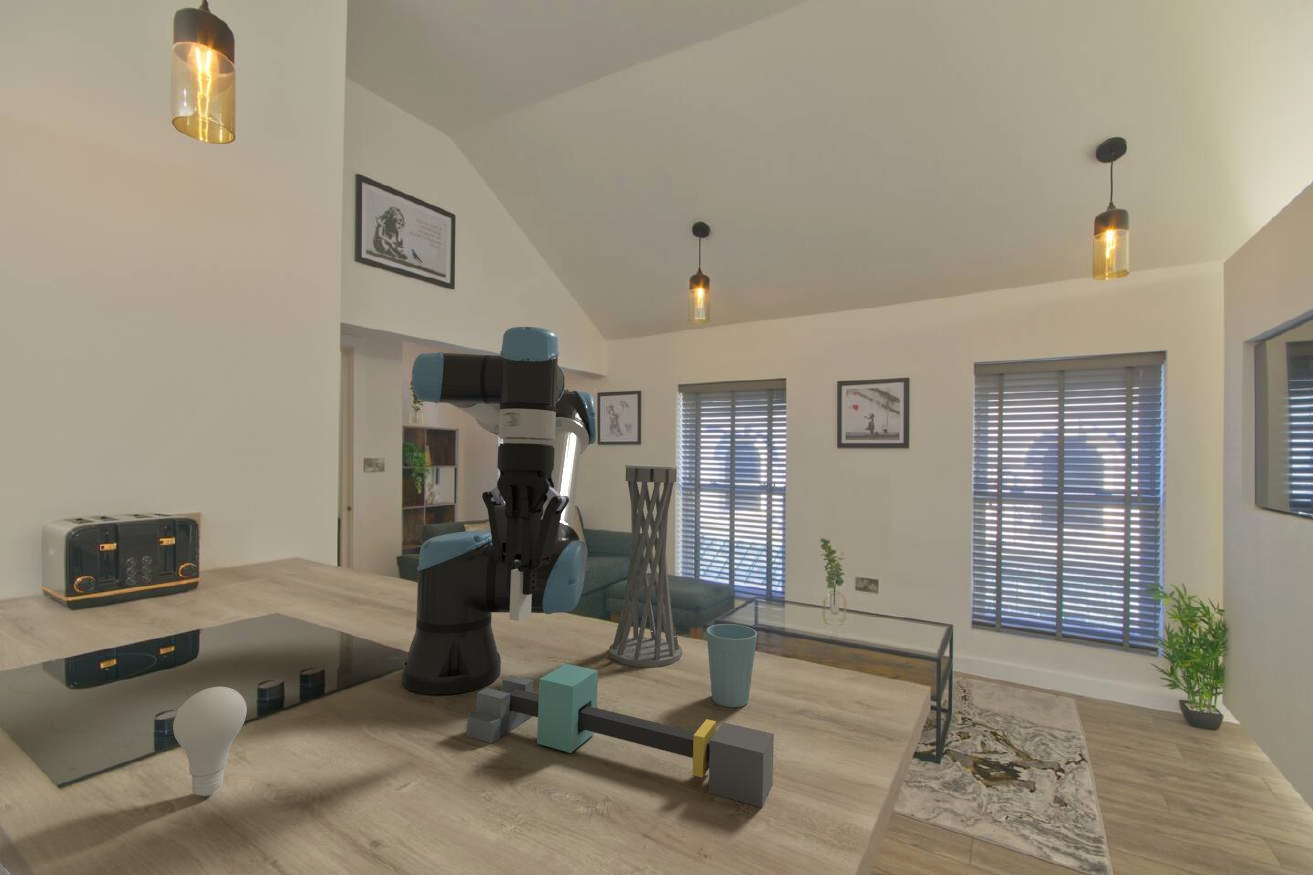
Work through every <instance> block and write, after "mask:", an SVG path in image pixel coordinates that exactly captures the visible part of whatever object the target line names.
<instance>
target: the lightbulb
mask: <svg viewBox="0 0 1313 875" xmlns="http://www.w3.org/2000/svg"><path fill="white" fill-rule="evenodd" d="M247 707H248V706H247V703H246V700H245V698H244V697H243V695H242V694H241V693H239V692H238V691H237V690H236V689H233V688H231V687H225V686H212V687H208V688H205V689H202V690H200V691H198V692H196V693H194V694H193V695H191V696H190V697H189V698H187V699H186V700H185V702H184V703H183V704H181V706H180V707H179V709H178V710H177V713H176V714H175V717H174V720H173V723H172V724H173V725H172V729H173V730H172V731H173V734H174V737H175V739H176V741H177V743H178V744H179V746H180V747H181V748H182V749H183V751H184V753H185V755H186V756H187V759H188V767H189V768H188V770H189V774H190V775H191V791H192V793H193V794H194V795H196V796H201V797H204V798H205V797H208V796H211V795H212V794H214V792H216V791H218V790H219V789H220V788H221V787H222V786H223V783H224V782H223V781H224V775H225V774H224V773H225V772H224V771H225V767H226V766H227V764H228V759H229V754H230V749H231V747H232V745H233V743H234V740H235V738H236V737H237V736H238V734H239V732H240V731H241V728H242V727H243V725H244V723H245V720H246V716H247V712H248V711H247V709H248V708H247Z"/></svg>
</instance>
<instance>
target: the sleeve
mask: <svg viewBox="0 0 1313 875" xmlns="http://www.w3.org/2000/svg"><path fill="white" fill-rule="evenodd" d="M598 673H599V670H597V669H593V668H587V667H583V666H579V665H575V664H574V665H573V664H569V663H565V664H563V665H561V666H560V667H557V668H556V669H555V670H552V671H551V672H549V673H548V674H545V675H544V676H542V677H539V679H538V680H539V681H538V682H539V683H538V684H539V686H538V694H539V704H538V717H537V737H536V738H537V739H536V741H537V742H536V744H537V745H541V746H546V747H549V748H551V749H556V750H559V751H563V752H565V753H569V754H571V753H573V752H574V751H575V750H576V749H577V748H579V747H580V746H581V745H583V744H584V743H585V742H586V741H587V740H588V739H590V738H591V737H592V736H593V735H595V732H591V731H587V730H584V729H580V728H578V709H580V708H581V707H582V706H584V705H586V706H590V707H594V708H598V683H599V681H598V677H599V676H598V675H599V674H598Z"/></svg>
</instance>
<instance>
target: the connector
mask: <svg viewBox="0 0 1313 875" xmlns="http://www.w3.org/2000/svg"><path fill="white" fill-rule="evenodd" d="M774 735H775V734H774V733H772V732H767V731H764V730H760V729H754V728H750V727H746V726H741V725H737V724H733V723H728V722H724V721H723V722H722V723H721V725H720V726H719V727H718V728H717V729H716V733H715V734H714V735H713V737H712V738H711V739H710V756H709V769H708V794H712V795H716V796H719V797H723V798H726V799H729V800H732V801H733V800H734V801H736V802H739V803H744V804H747V805H751V806H755V807H756V808H757V807H758V808H761V809H763V808H764V805H765V802H766V800H767V798H768V796H769V794H770V791H771V789H772V787H773V785H774V784H773V783H774V782H773V779H774V743H775V742H774V738H775V736H774Z"/></svg>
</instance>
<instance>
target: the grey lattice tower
mask: <svg viewBox="0 0 1313 875" xmlns="http://www.w3.org/2000/svg"><path fill="white" fill-rule="evenodd" d="M624 467H625V482H627V484H628V485H627V486H628V492H629V497H630V507H631V509H630V511H631V513H630V514H631V554H630V559H629V566H628V567H629V568H628V573H627V579H626V585H625V593H624V599H623V605H622V609H621V613H620V617H619V620H618V624H617V628H616V632H615V636H614V641H613V643H611V645H610V646H609V648H608V649H609V650H608V651H609V658H611V659H613V660H615V661H617V663H618V662H619V664H620V663H621V665H626V666H631V667H637V668H638V667H639V668H655V667H662V666H669V665H672V664H674V663H677V662H679V661H680V660H681V658H682V656H683V648H682V647H681V645H680V644H679V641H678V636H677V631H676V626H675V622H674V621H675V620H674V617H673V611H672V610H673V609H672V606H671V595H670V594H671V593H670V585H669V584H670V583H669V576H668V562H667V554H666V552H667V536H668V519H669V518H668V517H669V516H668V515H669V508H670V503H671V499H672V498H671V497H672V492H673V487H674V483H677V469H678V466H677V465H656V464H654V465H653V464H652V465H651V464H625V466H624ZM638 483H641V488H640V491H639V486H638ZM648 483H653V490H652V494H651V498H650V492H649V487H648ZM661 483H663V490H662V493H661V490H660V487H661ZM644 505H646V510H647V512H646V516H645V512H644V508H645V506H644ZM655 509H656V510H655ZM654 510H655V511H656V514H655V518H654V513H653V512H654ZM649 527H650V528H649ZM649 529H650V530H651V532H650V534H649ZM641 532H642V533H641ZM644 547H645V548H644ZM644 549H645V550H646V551H645V553H644ZM653 550H655V553H653ZM639 565H640V572H639V570H638V569H639ZM648 567H649V568H650V572H651V573H650V576H649V581H648V574H647V570H648ZM657 570H658V571H657ZM642 587H643V588H642ZM642 589H643V591H644V598H645V601H644V606H643V611H642V612H643V613H642V618H641V621H640V626H639V599H640V595H641V592H642ZM653 590H655V591H654V592H655V594H656V599H657V600H656V616H655V619H656V620H654V613H653V607H652V594H653ZM631 595H632V600H631ZM630 600H631V603H630ZM629 606H630V607H629ZM647 619H648V621H647ZM647 622H648V623H649V629H650V630H649V631H650V637H648V636H644V635H645V630H646V624H647ZM662 626H663V631H664V635H665V638H662ZM631 628H632V635H633V636H632V637H629V635H630V632H631ZM651 631H653V632H651ZM674 636H676V637H674Z"/></svg>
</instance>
